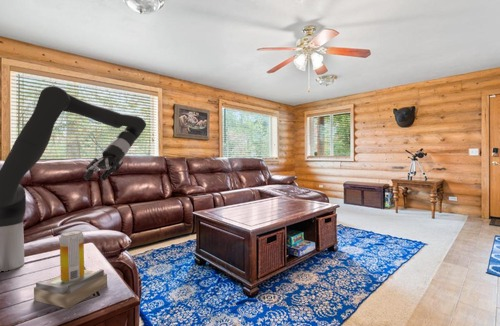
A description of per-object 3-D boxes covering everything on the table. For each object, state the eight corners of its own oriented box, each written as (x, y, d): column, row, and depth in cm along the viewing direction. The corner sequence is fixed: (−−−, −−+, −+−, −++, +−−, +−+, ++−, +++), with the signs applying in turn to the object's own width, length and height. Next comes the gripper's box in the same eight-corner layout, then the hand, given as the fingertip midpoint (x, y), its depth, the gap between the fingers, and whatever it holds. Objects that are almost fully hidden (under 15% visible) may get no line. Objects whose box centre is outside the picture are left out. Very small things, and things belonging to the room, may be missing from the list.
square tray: (33, 300, 73) (32, 281, 73) (76, 279, 86) (75, 263, 85) (67, 309, 69) (66, 289, 69) (107, 285, 82) (106, 268, 81)
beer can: (80, 272, 82) (79, 228, 81) (87, 278, 78) (86, 232, 77) (58, 279, 77) (57, 233, 77) (64, 286, 73) (62, 237, 73)
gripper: (98, 144, 105) (73, 172, 95) (125, 143, 101) (101, 173, 91) (109, 156, 111) (86, 184, 100) (134, 156, 106) (113, 185, 96)
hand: (93, 179), depth 95 cm, fingers open, 8 cm apart
